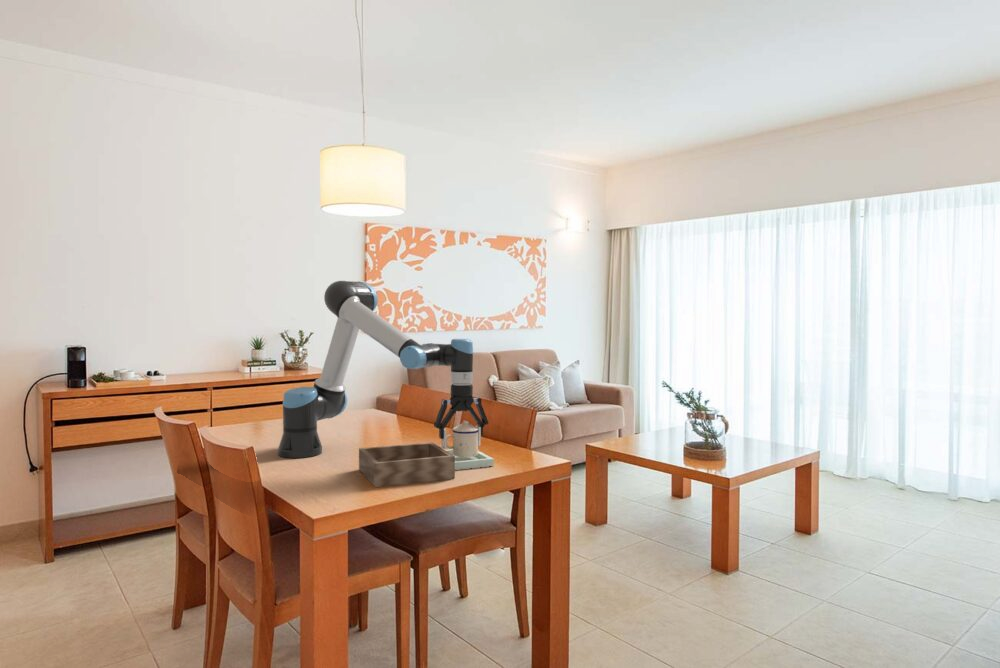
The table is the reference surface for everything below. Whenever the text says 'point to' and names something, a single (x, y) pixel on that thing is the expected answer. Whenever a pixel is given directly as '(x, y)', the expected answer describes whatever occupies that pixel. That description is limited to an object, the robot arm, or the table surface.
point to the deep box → (406, 464)
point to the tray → (472, 461)
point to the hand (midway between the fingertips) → (461, 446)
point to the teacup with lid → (464, 440)
